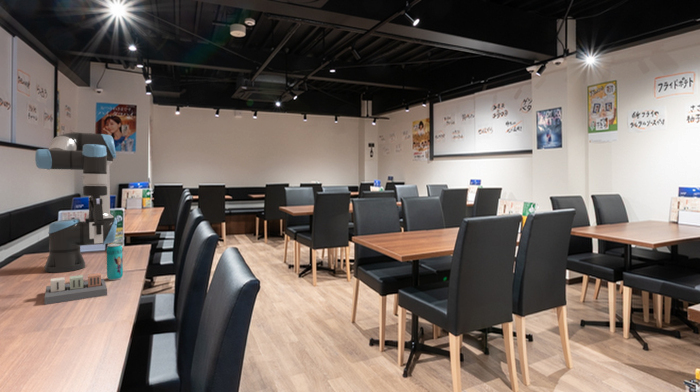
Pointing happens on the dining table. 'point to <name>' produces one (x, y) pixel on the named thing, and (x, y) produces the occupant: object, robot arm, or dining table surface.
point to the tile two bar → (76, 282)
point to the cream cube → (57, 284)
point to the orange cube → (94, 279)
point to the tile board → (75, 293)
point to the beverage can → (114, 262)
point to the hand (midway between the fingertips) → (96, 240)
